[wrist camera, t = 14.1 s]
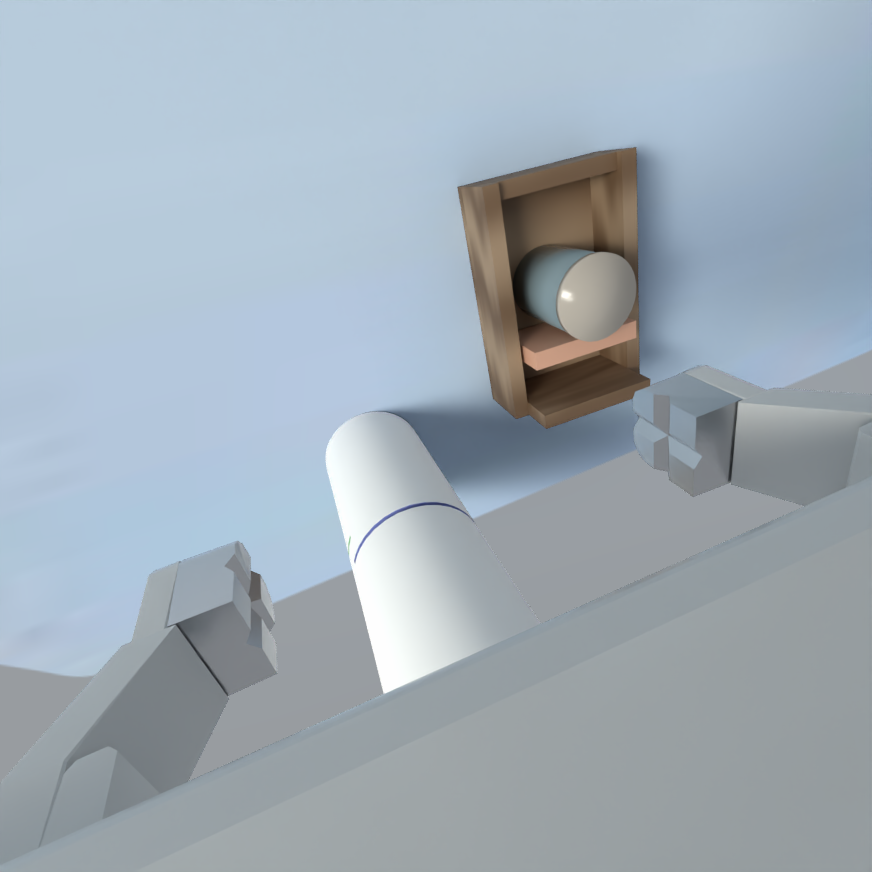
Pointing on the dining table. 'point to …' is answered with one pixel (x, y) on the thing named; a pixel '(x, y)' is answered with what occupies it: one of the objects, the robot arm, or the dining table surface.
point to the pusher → (564, 344)
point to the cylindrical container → (416, 553)
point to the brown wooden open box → (564, 226)
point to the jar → (575, 290)
